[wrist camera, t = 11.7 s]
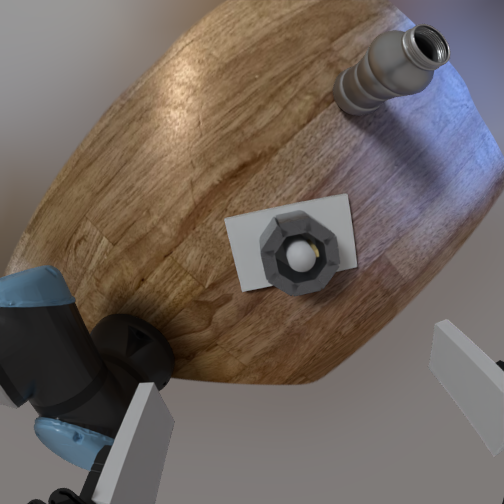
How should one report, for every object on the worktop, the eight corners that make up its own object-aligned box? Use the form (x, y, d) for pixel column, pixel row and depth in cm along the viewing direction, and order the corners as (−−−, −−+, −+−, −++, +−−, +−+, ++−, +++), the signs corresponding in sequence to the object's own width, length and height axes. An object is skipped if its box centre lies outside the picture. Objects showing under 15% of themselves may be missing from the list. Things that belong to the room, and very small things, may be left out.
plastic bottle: (319, 96, 33) (378, 35, 14) (347, 64, 32) (416, -4, 12) (356, 128, 34) (444, 100, 15) (382, 95, 33) (473, 53, 13)
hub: (268, 281, 39) (271, 301, 33) (254, 219, 37) (254, 229, 31) (330, 268, 38) (342, 285, 32) (320, 205, 36) (333, 212, 30)
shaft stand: (242, 288, 40) (240, 313, 33) (225, 218, 38) (218, 229, 31) (354, 264, 39) (373, 284, 32) (344, 193, 37) (365, 199, 29)
